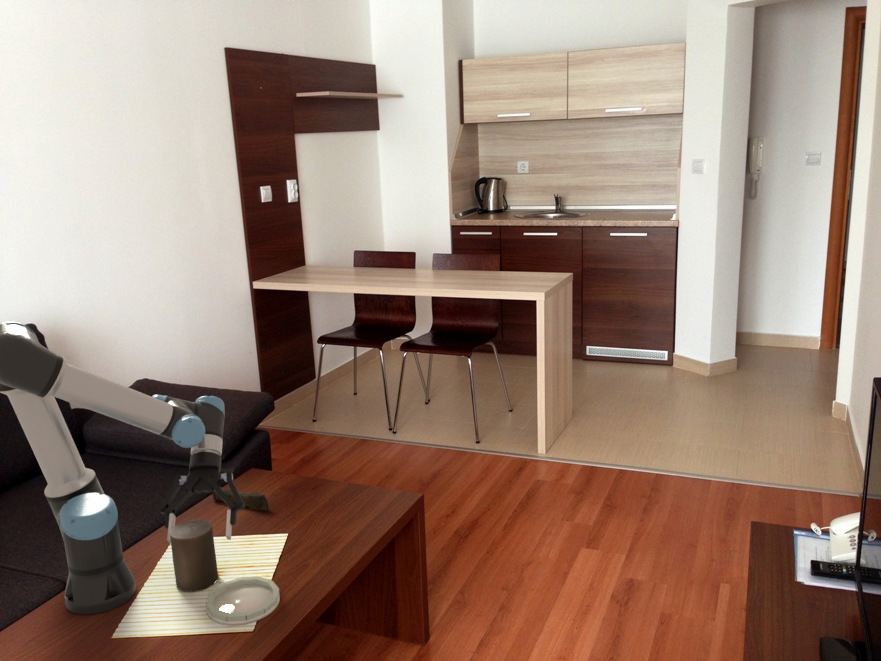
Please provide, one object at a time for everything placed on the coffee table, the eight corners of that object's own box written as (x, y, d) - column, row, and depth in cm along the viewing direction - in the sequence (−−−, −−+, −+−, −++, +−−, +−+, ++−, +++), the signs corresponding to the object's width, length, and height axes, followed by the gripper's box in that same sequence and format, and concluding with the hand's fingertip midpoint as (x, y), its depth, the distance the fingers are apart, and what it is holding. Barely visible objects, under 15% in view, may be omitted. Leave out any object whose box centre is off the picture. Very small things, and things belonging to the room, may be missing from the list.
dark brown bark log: (212, 502, 228) (210, 487, 227) (222, 496, 231) (220, 482, 230) (261, 515, 219) (260, 500, 218) (271, 509, 222) (269, 494, 221)
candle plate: (199, 627, 169) (198, 619, 168) (215, 586, 184) (214, 578, 184) (274, 622, 170) (273, 614, 169) (284, 581, 185) (283, 574, 185)
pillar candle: (220, 586, 184) (214, 528, 181) (176, 596, 181) (169, 536, 177) (215, 566, 193) (209, 510, 190) (174, 575, 190) (167, 518, 186)
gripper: (258, 458, 201) (255, 540, 190) (159, 464, 199) (150, 547, 189) (253, 447, 195) (249, 531, 184) (151, 453, 193) (141, 539, 182)
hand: (199, 540), depth 186 cm, fingers open, 13 cm apart
